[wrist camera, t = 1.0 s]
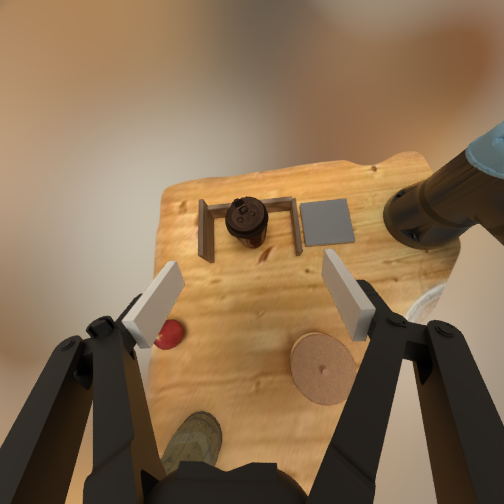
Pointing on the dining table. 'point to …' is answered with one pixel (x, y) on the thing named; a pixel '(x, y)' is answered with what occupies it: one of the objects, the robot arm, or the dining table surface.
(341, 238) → the slate pad
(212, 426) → the thermos
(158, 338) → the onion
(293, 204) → the u-shaped wooden frame
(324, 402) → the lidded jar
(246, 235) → the coffee cup
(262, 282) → the dining table surface
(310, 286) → the dining table surface
